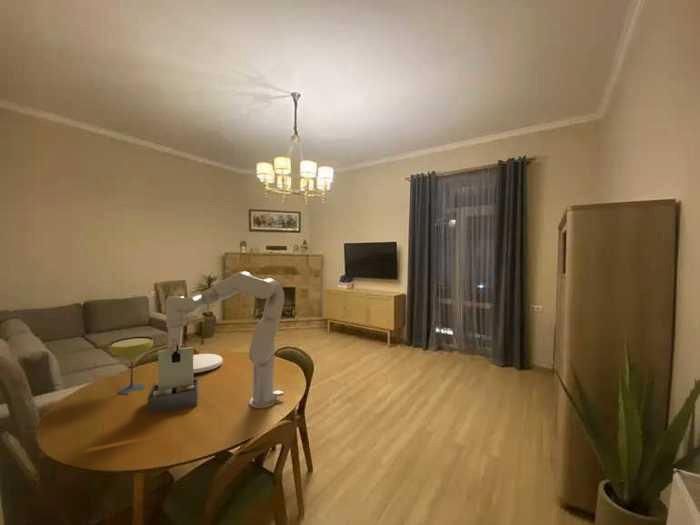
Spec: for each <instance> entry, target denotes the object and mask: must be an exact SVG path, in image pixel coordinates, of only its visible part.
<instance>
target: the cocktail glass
mask: <svg viewBox="0 0 700 525" xmlns="http://www.w3.org/2000/svg"><path fill="white" fill-rule="evenodd" d="M153 340H154V339H153V338H152V337H151V336H133V337H125V338H121V339H117V340H115V341H112V342H110V343H109V346H108V351H109V353H110V354H111V355H113V356H115V357H119V358H123V359H124V358H125V359H126V360H128V361H129V362H130V384H129V385H126V386H124V387H121V388H120V389H119V390H118V391H117V392H118V394H119V395H128V394H129V393H130V392H137V391H143V390H144V389H145V385H144V384H142V383H135V384H134V380H133V378H134V376H133V369H134V368H133V363H134V361H135V360H136V359H137V358H138V357H139V356H140V355H143V354H144V353H146V352H148V351H149V350H151V349H152V348H153V345H154V341H153Z"/></svg>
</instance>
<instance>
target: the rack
mask: <svg viewBox="0 0 700 525" xmlns="http://www.w3.org/2000/svg"><path fill="white" fill-rule="evenodd" d="M193 385H194V390H193V391H187V392H181V393H176V390H177V387H176V388H172V394H168V395H162V396H156V397H153V392H154V391H157V390H158V384H157V382H154V383H153V384H152V386H151V389H150V390H149V393H148V395H147V415H148V416H150V415H154V414H160V413H165V412H166V413H167V412H171V411H176V410H182V409H188V408H193V407H198V402H199V393H200V392H199V390H200V377H199V376H196V378H193ZM188 386H190V385H188ZM182 387H183V386H182Z"/></svg>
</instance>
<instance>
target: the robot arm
mask: <svg viewBox="0 0 700 525" xmlns="http://www.w3.org/2000/svg"><path fill="white" fill-rule="evenodd" d="M238 293H240V294H244V295H247V296H251V297H253V298H256V299H257V298H258V299H266V300H265V304H264V308H263V309H264V310H263V313H262V317H261V319H260V320H259V322H257V324H256V325H255V327H254V331H253V335H252V337H251V338H252V339H251V343H250V347H249V350H248V356H249V360H250V361H251V362H252V364H253V367H252V371H253V372H252V397H251V398H250V399H249V402H248V403H249V406H250V407H252V408H254V409H266V408H270V407H272V406H273V405H275V403H277V397H283V396H284V392H283V391H280V390H274V379H275V378H274V376H275V375H274V372H275V371H274V370H275V365H274V364H275V353H276V352H275V351H276V344H275V338H276V334H277V333H278V331H279V327H280V322H281V317H282V312H283V310H284V305H285V292H284V289H283V286H282V285H281V284H280V283H279V282H278V281H277V280H276V279H273V278H268V277H267V278H263V279H260V278H258V277H254V276H253V275H252V274H251V273H250V272H248V271H238V272H236V273H233V274H232V275H231V276H229V277H227V278H224V279H223V280H220V281H218V282H216V283H215V284H214V285H213V286H211V287H210V288H208V289H205V290H203V291H201V292H198V293H197V294H192V295H190V296H186V297H185V296H184V295H173V296H172V295H171V296H168V297H167V298H166V303H165V304H166V308H165V310H166V328H168V336H167V337H168V339H167V340H168V342H167V344H168V345H167V348H168V349H167V350H169V349H172V363H174V362H180V353H179V348H182V347H181V346H182V344H183V334H184V333H183V330H184V329H183V326H185V325H186V313H187V314H192V313H195V312H198V311H200V310H202V309H204V308H206V307H208V306H211V305H212V304H214V303H217V302H219V301H223V300H225V299H228V298H230V297H232V296H235V295H236V294H238Z"/></svg>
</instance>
